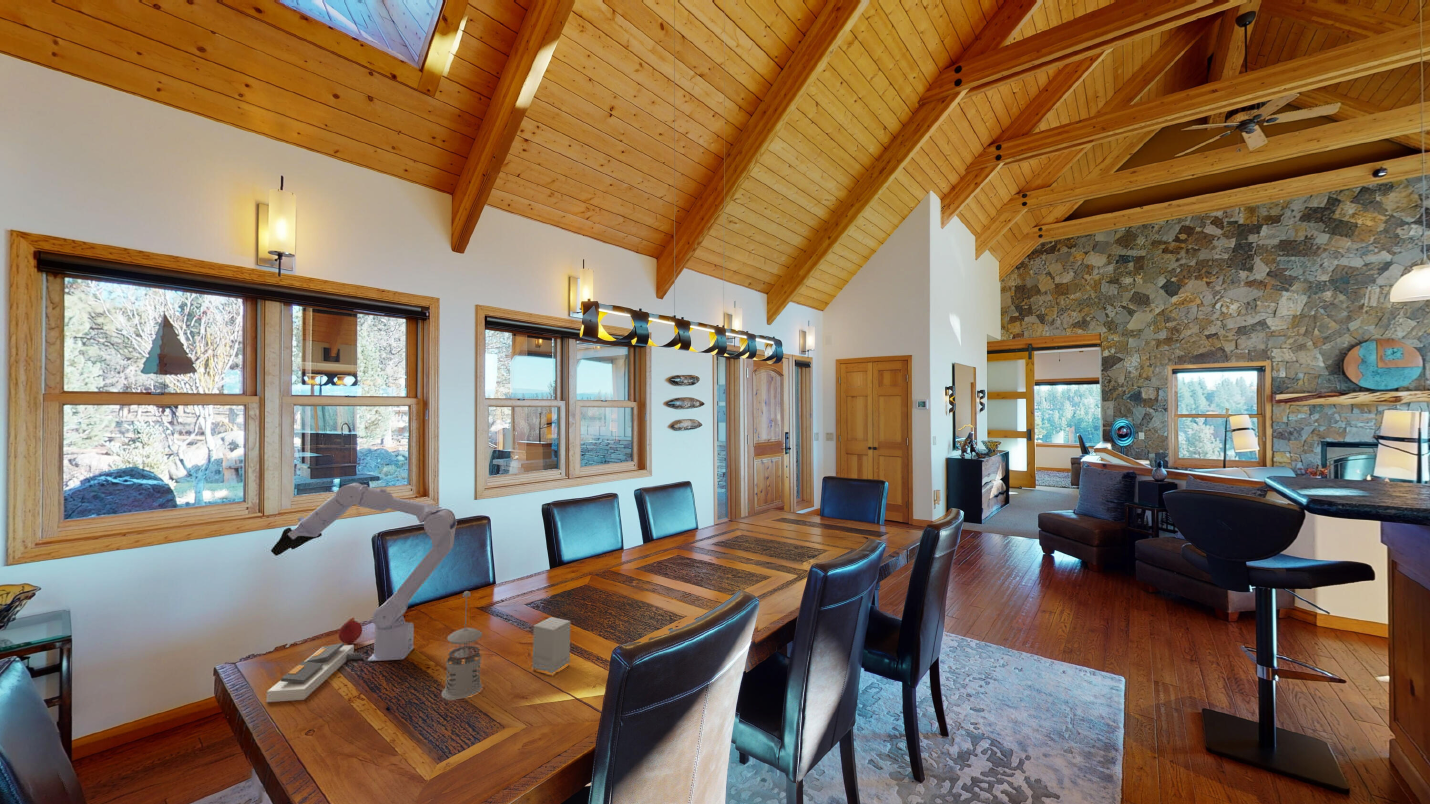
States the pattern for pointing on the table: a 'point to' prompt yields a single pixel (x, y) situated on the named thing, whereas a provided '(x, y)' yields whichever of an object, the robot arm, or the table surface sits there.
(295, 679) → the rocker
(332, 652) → the rocker
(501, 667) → the table surface
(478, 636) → the french press
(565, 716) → the table surface
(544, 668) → the supplement box
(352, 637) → the onion
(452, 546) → the robot arm
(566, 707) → the table surface
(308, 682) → the rocker switch panel
